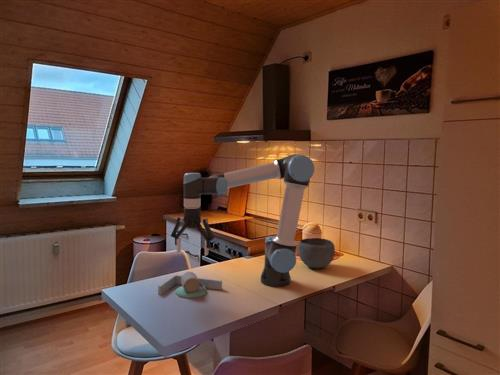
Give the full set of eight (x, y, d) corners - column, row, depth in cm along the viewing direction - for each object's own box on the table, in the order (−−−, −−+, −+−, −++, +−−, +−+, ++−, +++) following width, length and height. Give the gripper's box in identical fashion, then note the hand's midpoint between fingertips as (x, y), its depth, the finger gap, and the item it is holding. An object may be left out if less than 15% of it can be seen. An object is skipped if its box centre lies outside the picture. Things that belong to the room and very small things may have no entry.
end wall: (175, 283, 184) (175, 275, 183) (160, 294, 169) (160, 286, 169) (173, 283, 184) (173, 275, 184) (158, 294, 169) (158, 285, 169)
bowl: (329, 261, 228) (330, 237, 226) (338, 273, 207) (340, 246, 205) (294, 261, 227) (295, 236, 226) (300, 272, 206) (301, 245, 205)
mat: (210, 288, 178) (210, 287, 178) (199, 299, 165) (199, 298, 165) (183, 285, 182) (183, 283, 182) (170, 295, 169) (170, 293, 168)
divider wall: (222, 288, 179) (222, 280, 178) (221, 289, 177) (221, 281, 177) (175, 282, 185) (175, 274, 184) (174, 283, 184) (174, 275, 183)
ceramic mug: (183, 294, 168) (184, 277, 167) (180, 288, 176) (180, 272, 175) (206, 292, 172) (207, 275, 171) (202, 286, 179) (203, 270, 179)
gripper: (221, 207, 170) (221, 253, 172) (170, 204, 176) (171, 249, 179) (215, 210, 163) (215, 258, 165) (163, 207, 169) (163, 253, 171)
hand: (192, 253), depth 172 cm, fingers open, 13 cm apart
